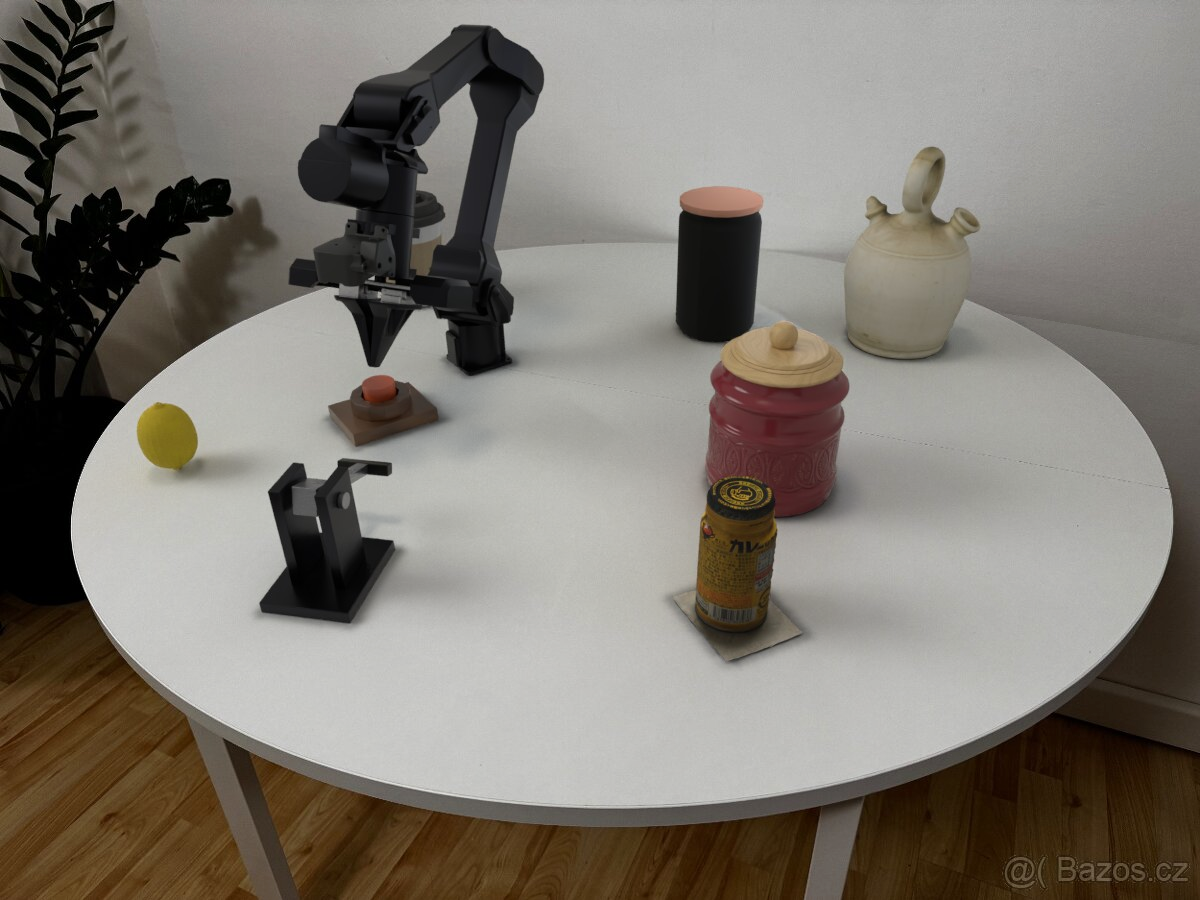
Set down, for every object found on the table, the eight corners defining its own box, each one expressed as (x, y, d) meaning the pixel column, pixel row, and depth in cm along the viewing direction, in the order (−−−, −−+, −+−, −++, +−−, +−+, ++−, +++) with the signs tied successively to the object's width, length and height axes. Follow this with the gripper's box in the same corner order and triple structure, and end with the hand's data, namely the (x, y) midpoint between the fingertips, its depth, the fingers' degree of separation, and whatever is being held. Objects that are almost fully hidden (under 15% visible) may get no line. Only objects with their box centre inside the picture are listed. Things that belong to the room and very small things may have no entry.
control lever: (342, 475, 85) (342, 451, 84) (392, 480, 84) (392, 455, 84) (276, 513, 74) (275, 485, 73) (333, 519, 73) (332, 490, 72)
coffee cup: (448, 314, 128) (436, 211, 120) (369, 314, 128) (352, 211, 121) (459, 284, 138) (449, 187, 130) (386, 285, 138) (371, 187, 130)
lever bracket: (315, 541, 84) (292, 443, 78) (395, 550, 82) (378, 451, 77) (261, 613, 75) (231, 509, 70) (350, 624, 74) (327, 520, 68)
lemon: (186, 486, 92) (165, 419, 88) (138, 480, 93) (115, 414, 89) (216, 457, 96) (197, 392, 92) (170, 452, 97) (149, 388, 93)
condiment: (743, 574, 79) (754, 459, 72) (802, 634, 72) (819, 515, 66) (671, 599, 76) (676, 483, 70) (726, 664, 70) (736, 542, 63)
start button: (389, 385, 103) (386, 371, 102) (401, 397, 101) (399, 383, 100) (359, 394, 102) (356, 380, 101) (371, 406, 99) (369, 392, 98)
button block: (410, 394, 108) (406, 368, 106) (439, 421, 102) (435, 394, 101) (330, 418, 103) (324, 391, 102) (355, 448, 98) (350, 420, 96)
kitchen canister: (823, 531, 84) (848, 362, 74) (689, 505, 88) (697, 341, 78) (841, 460, 94) (866, 304, 85) (721, 439, 98) (731, 288, 89)
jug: (981, 345, 117) (1026, 149, 104) (902, 377, 110) (940, 171, 97) (888, 307, 128) (919, 126, 115) (811, 334, 121) (834, 144, 107)
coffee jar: (765, 322, 124) (777, 193, 115) (732, 351, 117) (742, 215, 107) (697, 307, 129) (702, 181, 120) (661, 333, 122) (664, 202, 112)
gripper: (254, 195, 86) (247, 357, 89) (423, 214, 80) (409, 387, 83) (327, 208, 96) (318, 352, 99) (481, 226, 90) (467, 378, 93)
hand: (373, 366), depth 93 cm, fingers closed
